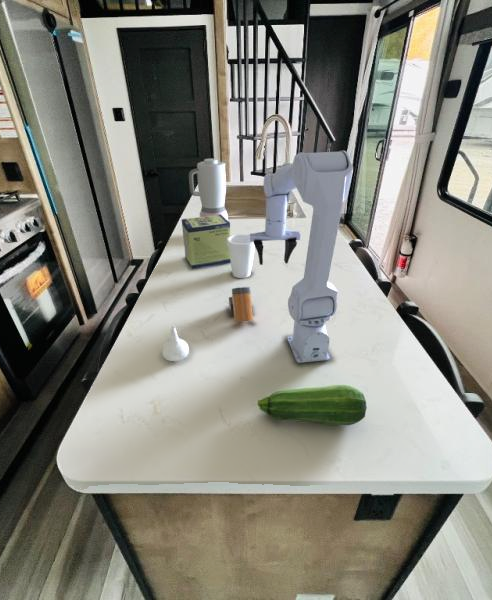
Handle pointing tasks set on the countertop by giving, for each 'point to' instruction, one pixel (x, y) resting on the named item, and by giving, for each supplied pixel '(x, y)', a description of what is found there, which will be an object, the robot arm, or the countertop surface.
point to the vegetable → (317, 405)
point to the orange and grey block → (242, 304)
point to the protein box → (206, 240)
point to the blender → (210, 187)
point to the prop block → (231, 306)
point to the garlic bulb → (175, 347)
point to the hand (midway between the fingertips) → (273, 262)
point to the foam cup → (241, 254)
